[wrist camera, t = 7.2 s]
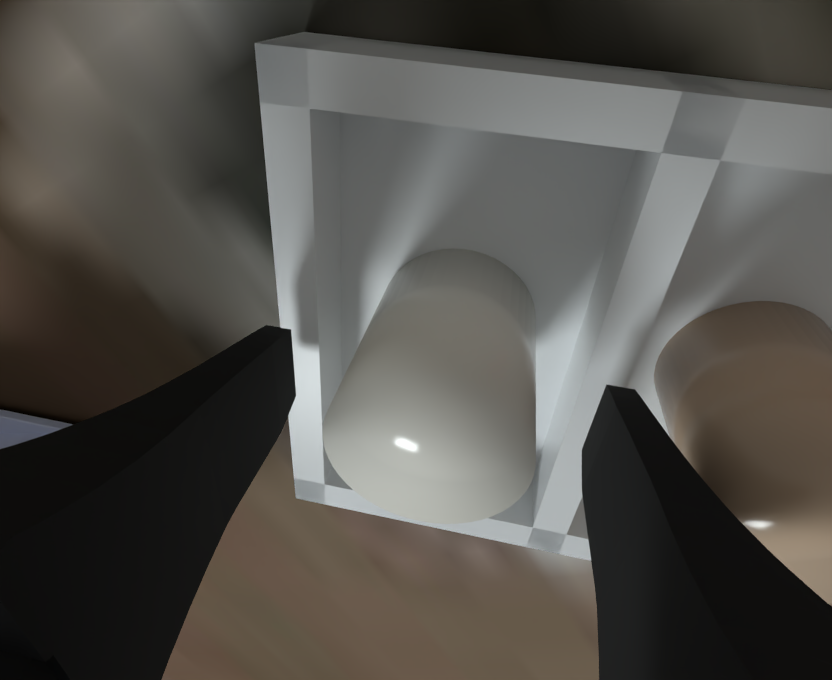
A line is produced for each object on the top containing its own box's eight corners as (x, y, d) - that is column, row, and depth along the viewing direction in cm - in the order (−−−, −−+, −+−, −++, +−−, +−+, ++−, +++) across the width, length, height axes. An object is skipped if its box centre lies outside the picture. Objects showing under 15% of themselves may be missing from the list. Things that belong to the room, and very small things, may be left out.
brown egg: (632, 415, 15) (669, 577, 11) (688, 287, 12) (762, 435, 8) (787, 443, 14) (885, 623, 10) (876, 317, 12) (1051, 486, 8)
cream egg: (382, 368, 16) (328, 504, 12) (382, 240, 13) (314, 354, 9) (522, 389, 15) (517, 539, 11) (549, 258, 13) (555, 389, 9)
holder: (321, 442, 19) (295, 498, 17) (303, 32, 11) (254, 42, 9) (783, 534, 17) (816, 608, 15) (1122, 122, 10) (1277, 158, 8)
